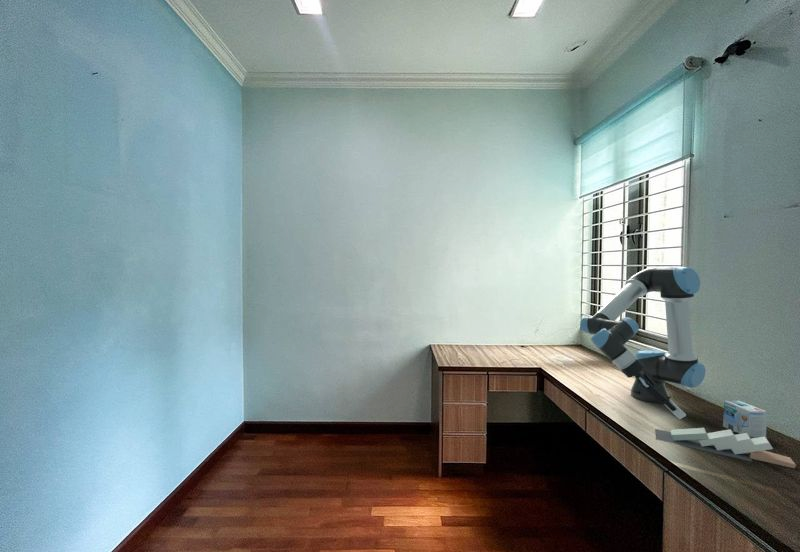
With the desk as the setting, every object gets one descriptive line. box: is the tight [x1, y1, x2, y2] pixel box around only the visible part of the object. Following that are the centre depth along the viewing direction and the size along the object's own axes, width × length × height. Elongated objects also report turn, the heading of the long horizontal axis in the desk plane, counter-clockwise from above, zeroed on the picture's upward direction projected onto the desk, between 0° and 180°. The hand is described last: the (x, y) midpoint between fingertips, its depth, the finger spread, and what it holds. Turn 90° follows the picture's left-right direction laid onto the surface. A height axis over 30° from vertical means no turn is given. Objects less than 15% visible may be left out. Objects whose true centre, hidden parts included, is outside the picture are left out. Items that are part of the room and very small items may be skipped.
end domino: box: [747, 450, 797, 469], centre depth 111 cm, size 5×2×10 cm
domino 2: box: [699, 429, 737, 447], centre depth 119 cm, size 5×2×10 cm
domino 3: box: [714, 433, 754, 451], centre depth 117 cm, size 5×2×10 cm
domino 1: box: [670, 427, 708, 441], centre depth 123 cm, size 5×2×10 cm
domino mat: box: [654, 428, 753, 462], centre depth 121 cm, size 10×25×1 cm, turn 55°
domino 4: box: [731, 437, 774, 454], centre depth 114 cm, size 5×2×10 cm
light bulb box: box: [722, 400, 768, 439], centre depth 131 cm, size 11×7×11 cm, turn 178°
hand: (682, 416), depth 124 cm, fingers closed
